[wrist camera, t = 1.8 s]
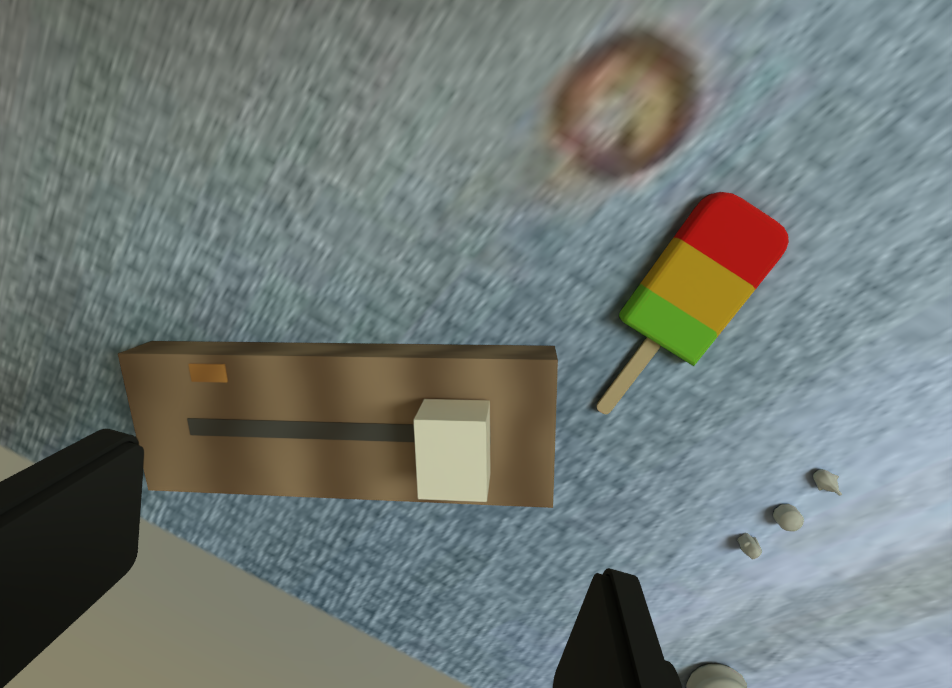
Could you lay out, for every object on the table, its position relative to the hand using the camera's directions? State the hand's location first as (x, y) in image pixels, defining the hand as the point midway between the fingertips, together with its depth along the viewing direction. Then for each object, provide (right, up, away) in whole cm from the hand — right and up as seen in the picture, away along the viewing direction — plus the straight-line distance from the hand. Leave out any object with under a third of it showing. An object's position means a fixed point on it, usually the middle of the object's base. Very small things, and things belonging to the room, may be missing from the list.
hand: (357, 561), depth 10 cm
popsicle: (+15, +6, +21) cm, 26 cm away
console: (-6, 0, +24) cm, 25 cm away
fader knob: (+1, -1, +21) cm, 21 cm away
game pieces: (+23, -7, +24) cm, 34 cm away
